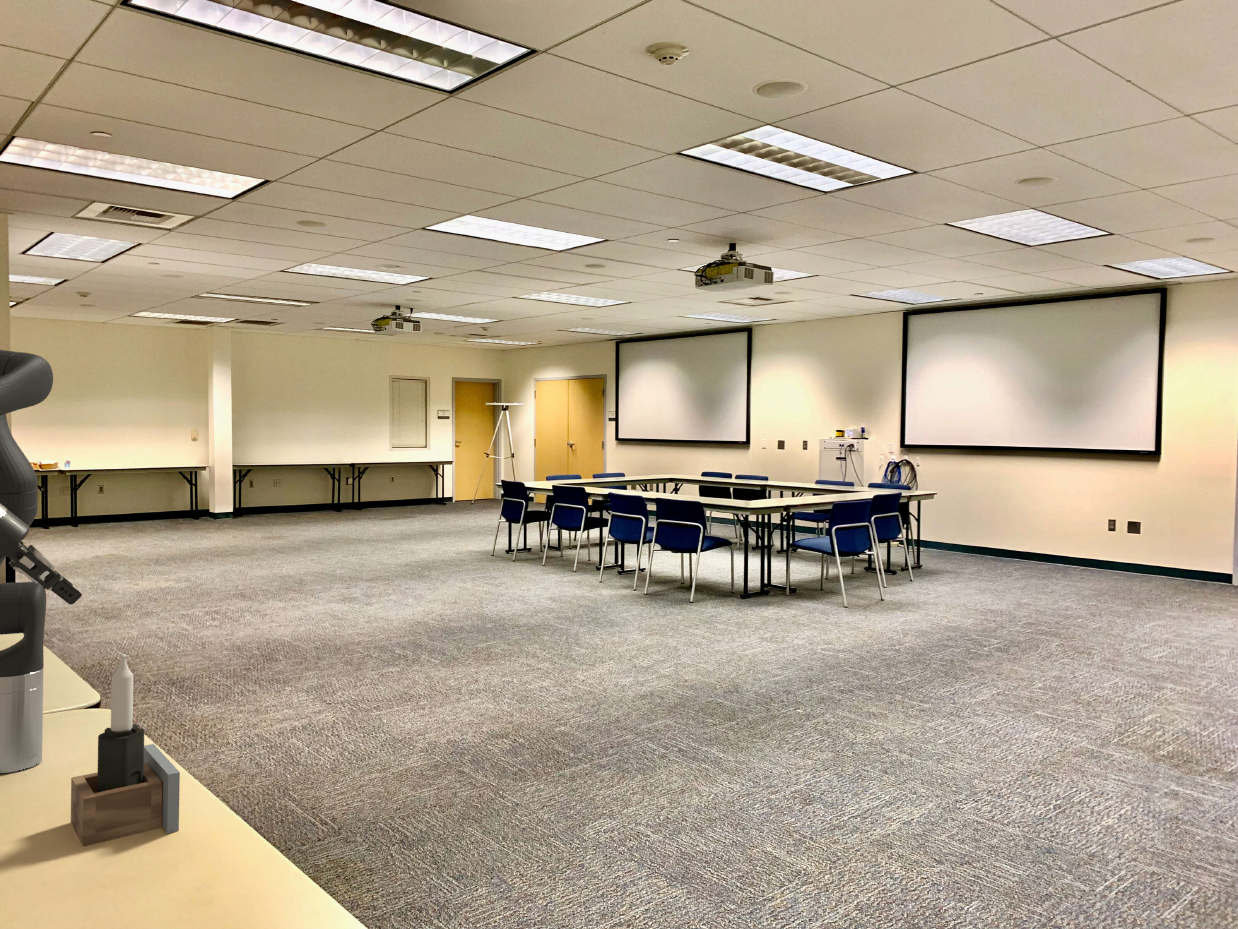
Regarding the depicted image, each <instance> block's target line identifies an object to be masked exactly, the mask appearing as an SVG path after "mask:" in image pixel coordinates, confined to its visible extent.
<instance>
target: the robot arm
mask: <svg viewBox="0 0 1238 929" xmlns="http://www.w3.org/2000/svg"><path fill="white" fill-rule="evenodd" d="M51 366H52V365H50V363H49V361H48V360H47V359H45V358H44V357H42V356H41V355H37V354H34V353H30V352H22V351H13V350H3V349H0V567H1V566H2V564H3V563H4V560H5V559H6V557H8V558H9V559H10V560H11V561H9V563H8V565H10V567H11V568H12V569H13V570H15V571H16V572H18V573H19V574H23V575H24V576H25V577H26V578H27V579H28V580H30V581H23V582H22V581H21V582H2V583H0V635H1V636H2V635H14V634H15V635H16V634H22V635H23V637H22V638H21V639H20V640H19V641H17V642H15V643H14V644H12V645H10V646H8V647H6V648H3V649H1V650H0V774H7V773H15V772H19V770H20V771H23V769H24V770H26V768H27V769H30V768H32V767H33V768H34V767H35V766H37V765H38V763H39V764H40V763H41V762H42V761H43V730H44V729H43V728H44V727H43V726H44V724H43V723H44V720H43V718H44V667H45V666H44V663H45V662H44V659H45V658H44V638H45V637H44V636H45V627H46V626H45V623H46V614H47V592H46V591H51V592H52V593H54V594H55V595H56V596H57V597H59V598H60V599H62V600H63V601H64V602H65V603H67V604H68V605H74V604H75V603H76V602H77V601H78V600H80V599H81V597H82V596H83V595H82V592H81V591H80V590H78V589H77V588H76V587H74V585H73V582H71V581H69V580H68V579H67V578H65V577H64V576H63V575H62V574H60V572H58V571H57V570H55V567H56V566H55V565H53V564H52V562H50V560H49V559H48V558H47V557H45V556H44V555H43V553H42V552H41V551H40V550H39V549H38V548H36V547H35V546H33V544H30V545H28V546H27V545H26V544H24V542H23V540H24V539H25V538H26V537H27V536H28V534H29V532H30V530H31V529H30V526H31V525H32V523H33V522H34V520H35V518H36V516H37V513H38V509H39V508H38V499H39V498H38V496H39V495H38V492H39V490H38V488H39V487H38V486H39V484H38V477H37V473H36V471H35V469H34V467H33V465H32V464H31V462H30V461H29V459H28V457H27V456H26V455H25V453H24V452H23V450H22V449H21V447H20V446H19V444H18V443H17V442H16V439H15V438H14V437H13V434H12V433H11V430H10V427H9V425H8V419H7V418H8V417H7V414H9V413H13V412H16V411H19V410H23V409H26V408H30V407H34V406H36V405H39V404H41V403H42V402H44V401H45V400H46V399H47V398H48V396H49V395H50V393H51V392H52V390H53V385H54V384H53V383H54V372H53V369H52V367H51ZM40 761H41V762H40ZM36 764H37V765H36Z"/></svg>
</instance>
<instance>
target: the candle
mask: <svg viewBox="0 0 1238 929" xmlns="http://www.w3.org/2000/svg"><path fill="white" fill-rule="evenodd" d="M126 657H127V655H126V654H124V653H122V654H120V655H119V658H120V659H119V663H118V666H117V668H116V670H115V671H114V673H113V674H112V676H111V690H110V691H111V692H110V693H111V694H110V695H111V698H110V699H111V700H110V701H111V702H110V727H106V728H105V729H104V731H103V733H100V734H98V736H97V772H98V774H97V793H98V792H102V791H107V790H112V789H117V788H121V787H126V786H131V785H136V784H140V783H143V779H144V746H145V729H143V728H140V727H139V725H138V724H136V723H133V721H134V720H133V719H134V718H133V717H134V716H133V710H134V673H133V672H132V671H131V670H130V668H129V666H128V664H127V663H128V662H127V660H126Z"/></svg>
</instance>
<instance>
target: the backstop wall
mask: <svg viewBox="0 0 1238 929" xmlns="http://www.w3.org/2000/svg"><path fill="white" fill-rule="evenodd" d="M144 763H146V764H147V765H148V766H149V767H150V768H151V769H152V771H153V772H154V773H155V774H156V775H157V777H158V778H159V779H160V780H161V781H162V827H161V828H162V829H163V830H164V831H165V833H167V834H170V833H174V832H178V831H180V830H179V829H180V827H179V825H180V788H181V787H180V783H181V782H180V780H181V779H180V778H181V777H180V775H181V773H180V771H179V770H178V769H177V768H176V767H175V765H174V764H173V763H172V762H171V761H170V760H169V759H168V758H167V757H166V755H164V754H163V752H162V751H161V750H160V749H159V748H158V747H157V745H156V744H155V743H152V744H146V745H145V744H144Z"/></svg>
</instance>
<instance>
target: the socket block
mask: <svg viewBox="0 0 1238 929" xmlns="http://www.w3.org/2000/svg"><path fill="white" fill-rule="evenodd" d="M97 774H98V771H96V772H92V773H88V774H82V775H77V776H73V777H71V779H70V780H71V783H70V785H71V786H70V792H71V793H70V825H72V828H73V830H74V831H75V834H76V836H77V837H78V839H79V841H80V842H81V846H82V847H87V846H90V845H91V846H92V845H95V844H98V843H99V844H100V843H104V842H106V841H111V840H115V839H120V838H123V837H127V836H128V837H129V836H131V835H135V834H139V833H140V834H141V833H145V832H147V831H153V830H156V829H161V828H163V827H162V781H161V780H160V779H159V778H158V777H157V775H156V774H155V773H154V772H153V771H152V769H151V768H150V767H149V766H148V765H147V764H146V763H144V779H143V783H140V784H136V785H131V786H126V787H121V788H117V789H112V790H107V791H102V792H98V793H97Z"/></svg>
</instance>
